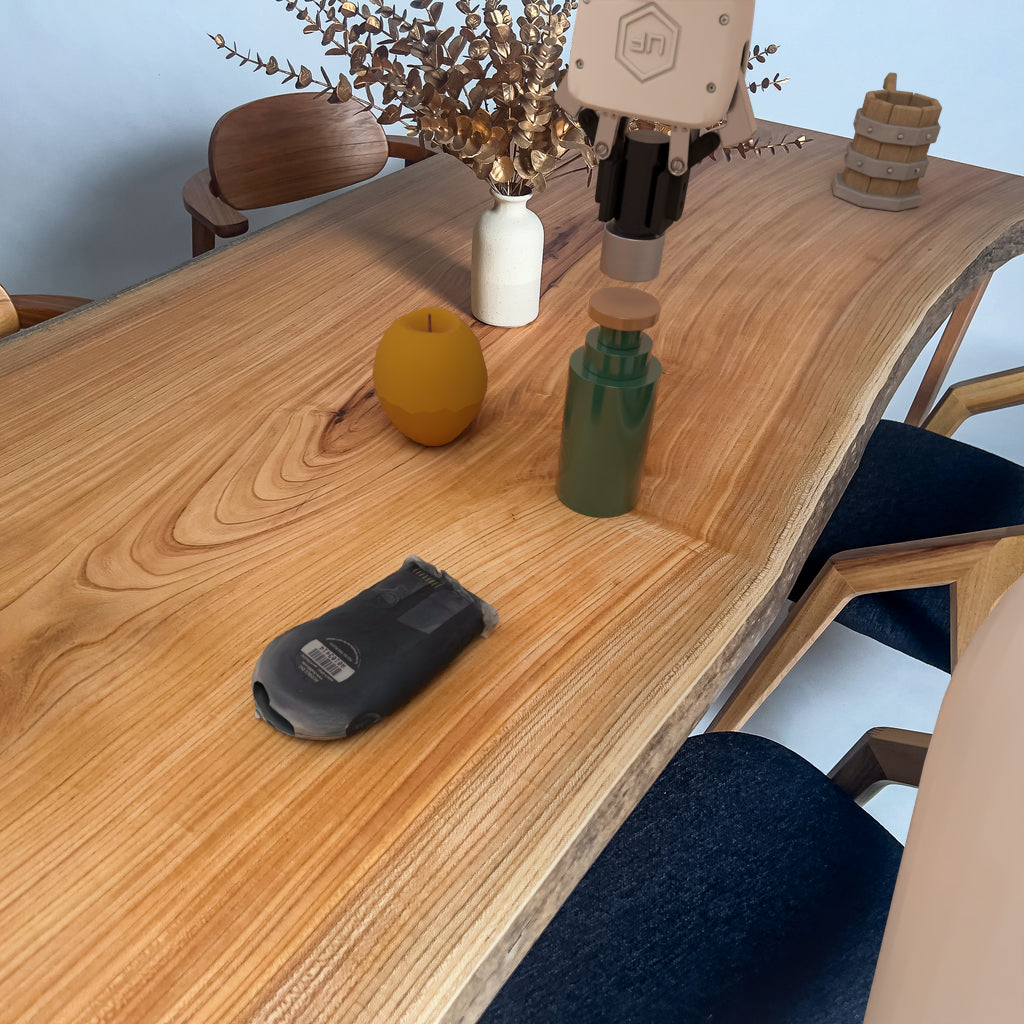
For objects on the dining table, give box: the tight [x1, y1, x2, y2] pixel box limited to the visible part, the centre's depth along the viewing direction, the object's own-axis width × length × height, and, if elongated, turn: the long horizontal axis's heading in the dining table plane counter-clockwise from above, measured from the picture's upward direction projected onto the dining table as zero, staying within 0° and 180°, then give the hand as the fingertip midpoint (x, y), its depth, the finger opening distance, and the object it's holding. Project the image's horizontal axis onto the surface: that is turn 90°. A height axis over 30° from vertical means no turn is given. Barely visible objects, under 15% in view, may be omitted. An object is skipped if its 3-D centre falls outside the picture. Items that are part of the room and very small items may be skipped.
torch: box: [598, 129, 670, 283], centre depth 60 cm, size 4×4×9 cm
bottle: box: [554, 286, 663, 518], centre depth 70 cm, size 7×7×17 cm
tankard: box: [831, 71, 943, 212], centre depth 137 cm, size 20×13×15 cm, turn 167°
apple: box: [371, 306, 489, 447], centre depth 77 cm, size 10×10×12 cm
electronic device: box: [251, 554, 500, 741], centre depth 58 cm, size 9×6×15 cm
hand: (636, 219), depth 61 cm, fingers closed on torch, 3 cm apart
